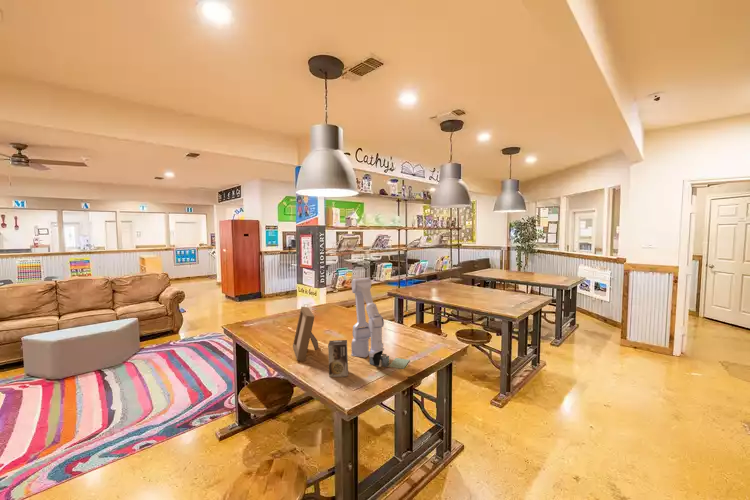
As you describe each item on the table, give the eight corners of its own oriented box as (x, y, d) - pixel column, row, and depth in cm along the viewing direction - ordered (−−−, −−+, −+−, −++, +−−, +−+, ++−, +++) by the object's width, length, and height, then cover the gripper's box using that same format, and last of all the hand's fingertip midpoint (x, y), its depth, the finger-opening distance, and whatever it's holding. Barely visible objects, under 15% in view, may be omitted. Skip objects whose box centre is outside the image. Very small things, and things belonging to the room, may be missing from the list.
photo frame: (297, 362, 171) (296, 316, 169) (292, 347, 191) (291, 307, 189) (324, 358, 176) (323, 314, 174) (317, 344, 196) (316, 305, 195)
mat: (388, 366, 164) (388, 365, 164) (395, 358, 174) (395, 357, 174) (403, 368, 161) (403, 368, 161) (409, 360, 171) (409, 359, 171)
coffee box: (348, 370, 160) (347, 339, 159) (347, 376, 153) (346, 344, 152) (330, 371, 159) (329, 340, 158) (328, 377, 153) (327, 344, 152)
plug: (374, 365, 165) (374, 359, 164) (380, 359, 173) (380, 353, 172) (380, 366, 163) (380, 360, 163) (386, 360, 171) (386, 354, 171)
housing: (369, 364, 167) (369, 354, 166) (371, 361, 170) (371, 352, 169) (387, 367, 163) (387, 357, 163) (389, 364, 166) (389, 355, 165)
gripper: (378, 345, 154) (378, 372, 155) (388, 336, 167) (388, 360, 168) (365, 343, 156) (365, 370, 157) (376, 334, 170) (376, 358, 171)
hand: (376, 365), depth 163 cm, fingers closed
